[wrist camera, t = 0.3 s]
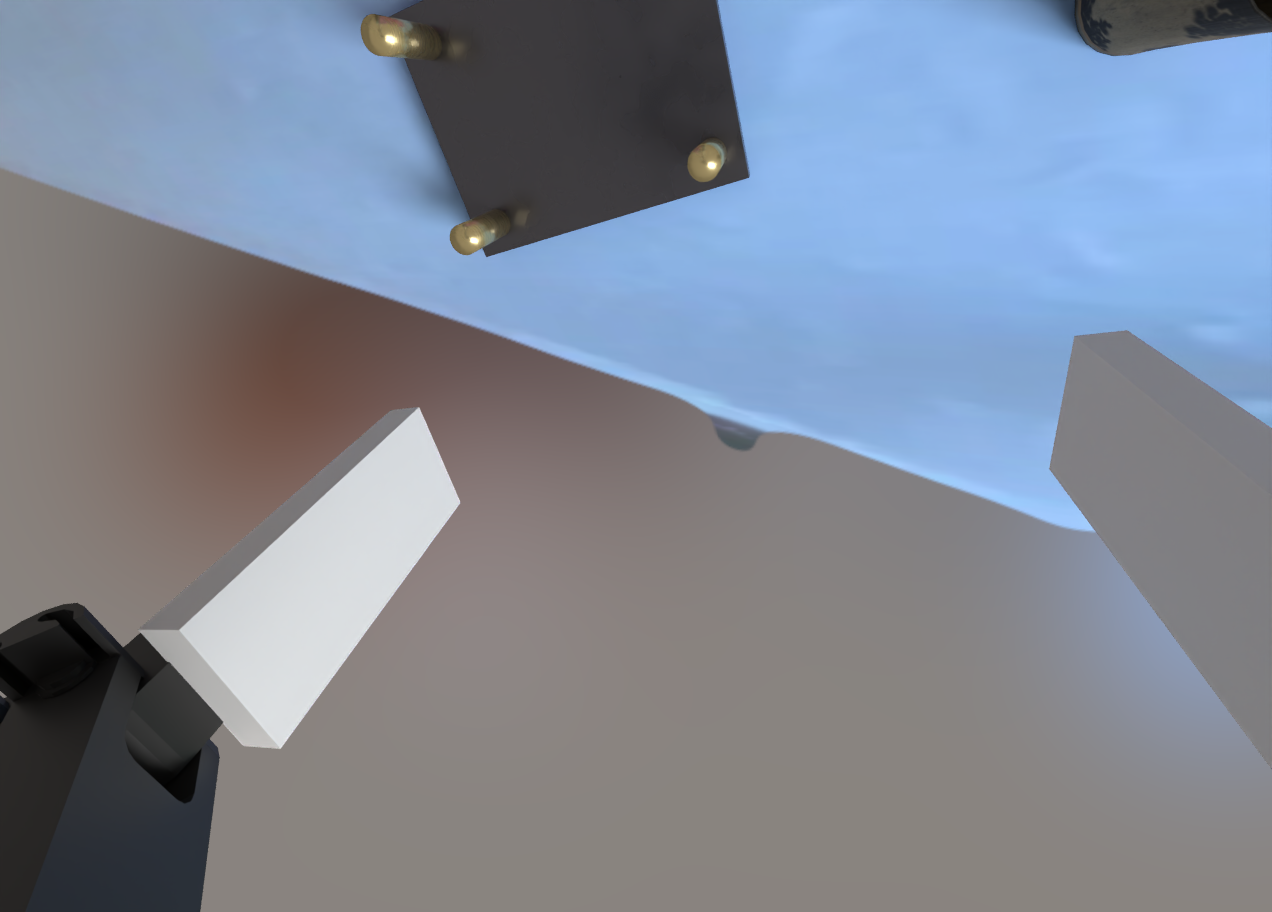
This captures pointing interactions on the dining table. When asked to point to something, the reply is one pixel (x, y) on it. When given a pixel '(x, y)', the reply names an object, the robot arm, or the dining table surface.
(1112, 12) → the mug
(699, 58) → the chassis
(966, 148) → the dining table surface
